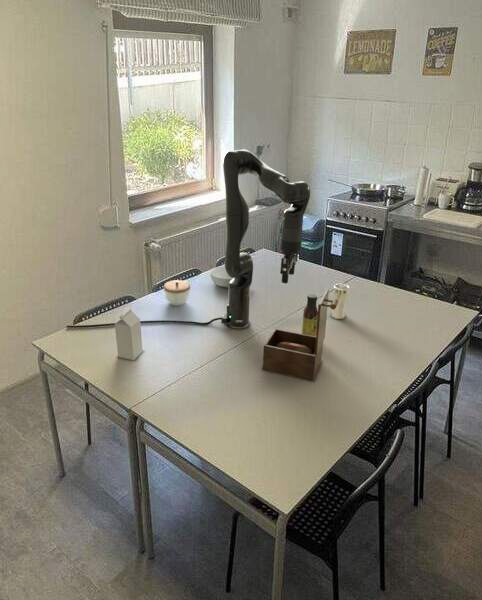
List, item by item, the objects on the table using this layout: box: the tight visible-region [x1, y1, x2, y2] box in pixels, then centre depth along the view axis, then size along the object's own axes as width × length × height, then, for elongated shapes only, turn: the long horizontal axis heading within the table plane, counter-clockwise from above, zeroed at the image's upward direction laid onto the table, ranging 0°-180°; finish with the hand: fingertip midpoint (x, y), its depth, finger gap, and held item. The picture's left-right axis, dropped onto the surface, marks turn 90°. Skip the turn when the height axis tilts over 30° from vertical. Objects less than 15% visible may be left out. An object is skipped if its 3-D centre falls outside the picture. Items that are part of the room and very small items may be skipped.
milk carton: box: [114, 308, 143, 361], centre depth 191 cm, size 7×7×19 cm
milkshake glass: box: [331, 283, 350, 320], centre depth 224 cm, size 7×7×15 cm
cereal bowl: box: [210, 265, 233, 288], centre depth 256 cm, size 17×17×7 cm
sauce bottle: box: [301, 293, 318, 336], centre depth 204 cm, size 7×6×20 cm
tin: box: [276, 342, 313, 355], centre depth 188 cm, size 15×3×8 cm, turn 69°
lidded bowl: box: [163, 279, 191, 307], centre depth 235 cm, size 13×13×11 cm
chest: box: [262, 328, 324, 382], centre depth 187 cm, size 20×14×11 cm
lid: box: [315, 288, 338, 356], centre depth 176 cm, size 20×14×5 cm
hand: (287, 278), depth 184 cm, fingers open, 8 cm apart
